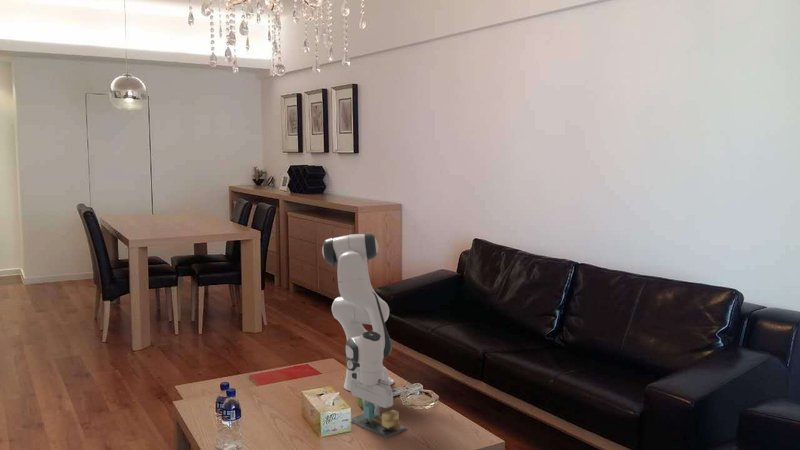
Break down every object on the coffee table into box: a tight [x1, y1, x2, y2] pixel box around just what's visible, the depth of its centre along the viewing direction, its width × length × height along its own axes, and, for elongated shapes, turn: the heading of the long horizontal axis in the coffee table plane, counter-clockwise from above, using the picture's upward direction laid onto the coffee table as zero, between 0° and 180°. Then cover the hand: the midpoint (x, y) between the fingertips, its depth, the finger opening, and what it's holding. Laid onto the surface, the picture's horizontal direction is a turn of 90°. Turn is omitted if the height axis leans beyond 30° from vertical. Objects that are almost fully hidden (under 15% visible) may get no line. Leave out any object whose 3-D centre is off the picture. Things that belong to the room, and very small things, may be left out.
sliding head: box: [362, 403, 381, 422], centre depth 249 cm, size 6×3×6 cm, turn 134°
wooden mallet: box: [361, 409, 402, 431], centre depth 247 cm, size 6×19×6 cm, turn 44°
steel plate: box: [351, 414, 407, 439], centre depth 247 cm, size 10×20×1 cm, turn 44°
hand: (371, 412), depth 249 cm, fingers closed on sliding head, 3 cm apart
